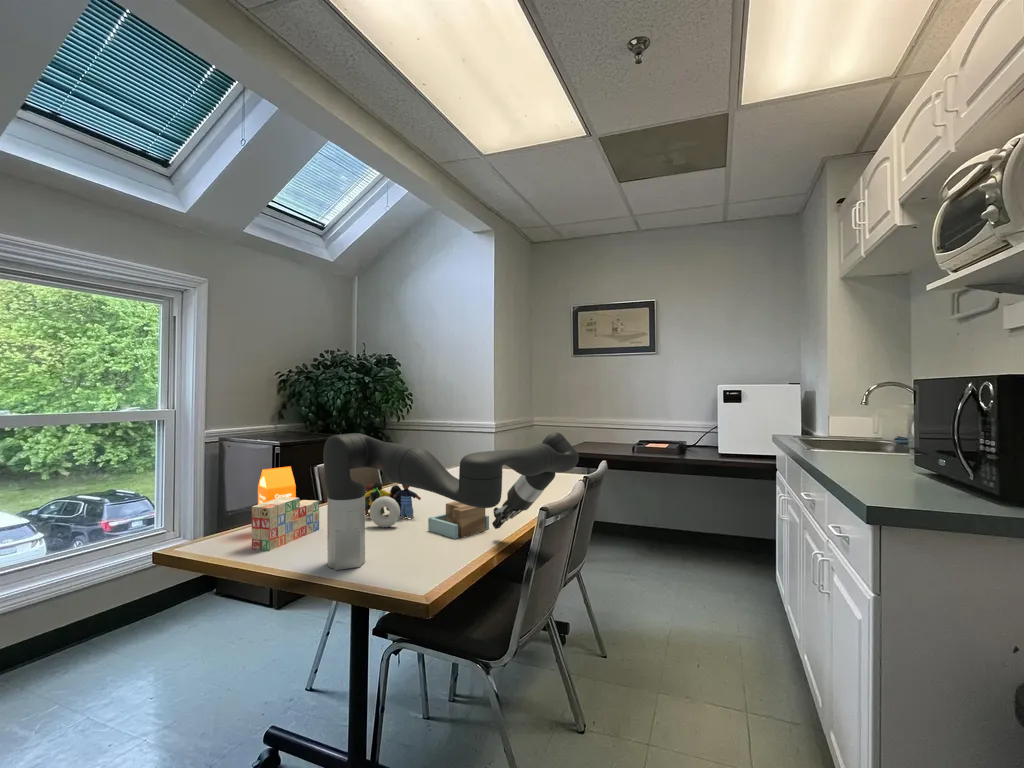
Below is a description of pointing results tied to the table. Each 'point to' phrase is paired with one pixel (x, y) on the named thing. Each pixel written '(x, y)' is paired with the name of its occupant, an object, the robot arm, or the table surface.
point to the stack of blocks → (283, 521)
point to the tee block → (465, 518)
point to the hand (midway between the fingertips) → (495, 525)
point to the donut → (393, 510)
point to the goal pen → (447, 526)
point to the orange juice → (276, 484)
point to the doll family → (396, 493)
